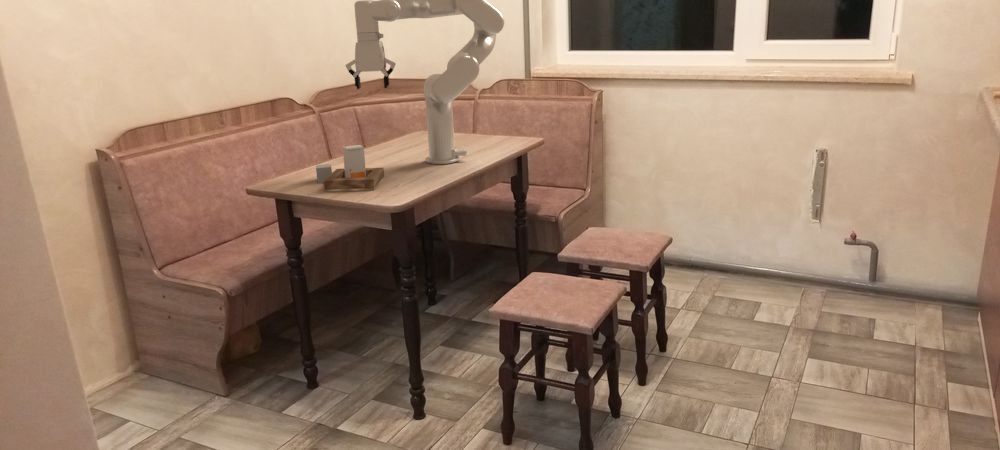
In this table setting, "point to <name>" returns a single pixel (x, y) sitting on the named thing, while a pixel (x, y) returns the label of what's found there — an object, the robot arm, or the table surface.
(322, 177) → the grey cube
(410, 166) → the table surface
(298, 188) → the table surface
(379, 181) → the socket block
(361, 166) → the skincare box
